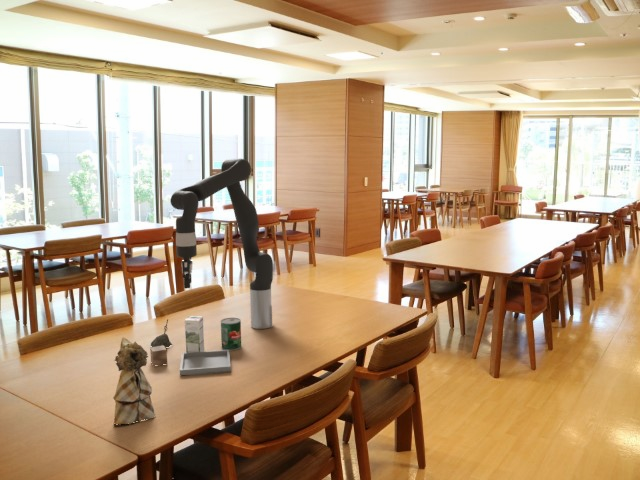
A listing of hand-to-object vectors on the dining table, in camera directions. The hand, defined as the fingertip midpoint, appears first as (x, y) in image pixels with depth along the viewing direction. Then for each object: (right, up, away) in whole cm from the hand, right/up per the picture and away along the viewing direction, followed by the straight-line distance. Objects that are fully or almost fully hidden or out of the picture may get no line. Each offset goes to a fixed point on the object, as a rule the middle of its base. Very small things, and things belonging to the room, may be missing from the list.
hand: (187, 285), depth 228 cm
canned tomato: (+15, -26, +9) cm, 31 cm away
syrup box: (+2, -27, +2) cm, 27 cm away
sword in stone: (-13, -26, +11) cm, 31 cm away
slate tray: (+9, -29, -10) cm, 31 cm away
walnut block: (-9, -28, -8) cm, 31 cm away
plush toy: (-4, -35, -50) cm, 62 cm away
